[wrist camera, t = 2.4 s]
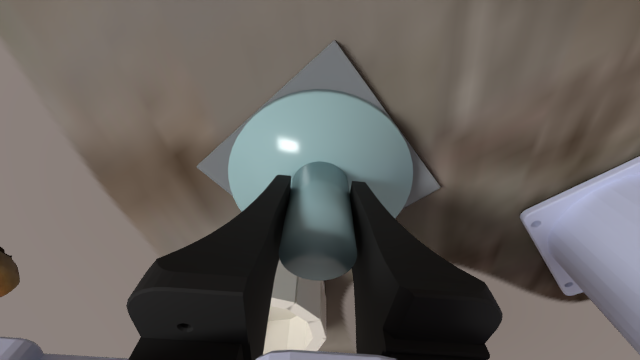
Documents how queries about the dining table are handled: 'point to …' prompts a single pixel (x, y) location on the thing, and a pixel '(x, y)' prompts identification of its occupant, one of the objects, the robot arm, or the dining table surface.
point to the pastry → (7, 273)
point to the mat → (322, 74)
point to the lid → (320, 172)
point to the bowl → (296, 313)
